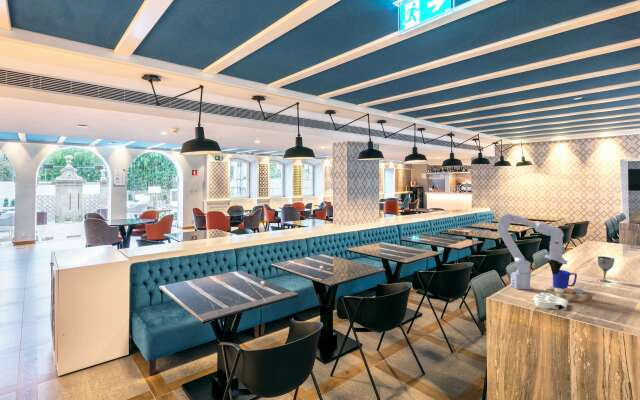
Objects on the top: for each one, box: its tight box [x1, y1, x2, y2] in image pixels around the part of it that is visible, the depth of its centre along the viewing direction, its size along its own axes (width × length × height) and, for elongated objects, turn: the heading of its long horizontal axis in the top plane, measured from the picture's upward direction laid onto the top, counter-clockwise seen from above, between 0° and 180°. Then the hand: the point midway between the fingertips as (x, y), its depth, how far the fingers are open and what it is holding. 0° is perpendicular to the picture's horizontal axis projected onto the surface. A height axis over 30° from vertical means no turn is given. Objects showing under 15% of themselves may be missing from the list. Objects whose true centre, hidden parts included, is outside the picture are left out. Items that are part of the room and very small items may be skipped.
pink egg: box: [564, 287, 574, 294], centre depth 173 cm, size 4×4×3 cm
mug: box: [552, 269, 578, 289], centre depth 189 cm, size 8×12×10 cm
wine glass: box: [597, 255, 615, 284], centre depth 207 cm, size 8×8×15 cm
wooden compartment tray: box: [545, 288, 593, 303], centre depth 174 cm, size 17×10×3 cm, turn 90°
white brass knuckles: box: [530, 292, 569, 311], centre depth 164 cm, size 3×18×15 cm
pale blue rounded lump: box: [573, 287, 584, 294], centre depth 173 cm, size 4×4×3 cm
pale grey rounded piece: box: [553, 287, 564, 293], centre depth 174 cm, size 4×4×3 cm
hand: (555, 274), depth 181 cm, fingers closed
